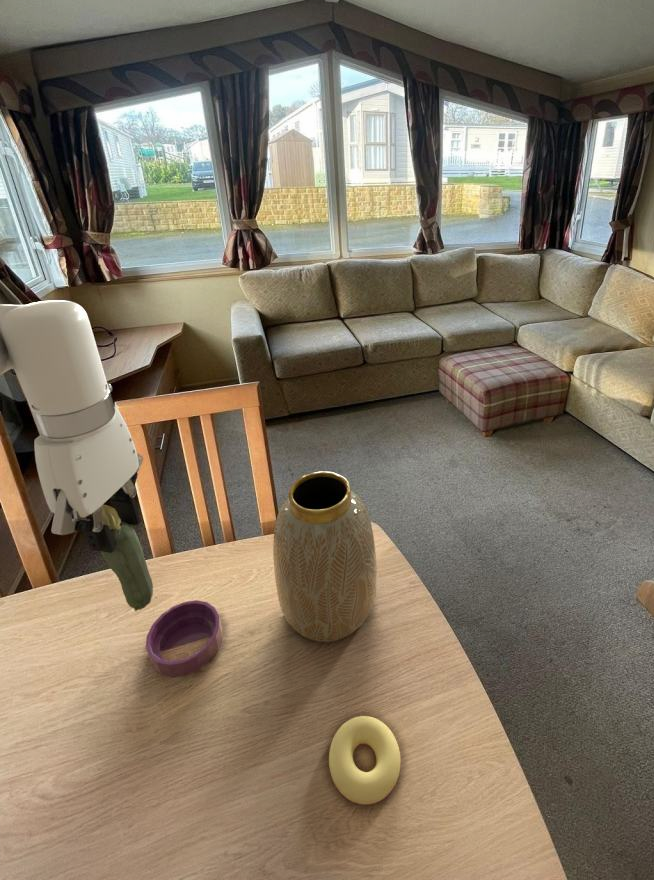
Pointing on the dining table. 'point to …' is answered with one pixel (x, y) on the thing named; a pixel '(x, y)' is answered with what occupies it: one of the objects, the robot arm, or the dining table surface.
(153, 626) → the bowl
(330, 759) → the donut
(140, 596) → the vegetable
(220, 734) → the dining table surface
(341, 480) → the vase
